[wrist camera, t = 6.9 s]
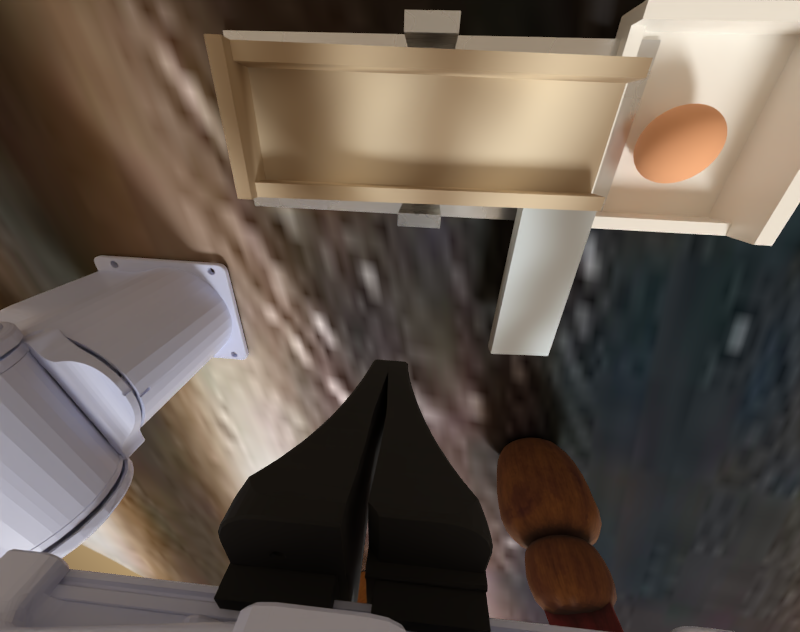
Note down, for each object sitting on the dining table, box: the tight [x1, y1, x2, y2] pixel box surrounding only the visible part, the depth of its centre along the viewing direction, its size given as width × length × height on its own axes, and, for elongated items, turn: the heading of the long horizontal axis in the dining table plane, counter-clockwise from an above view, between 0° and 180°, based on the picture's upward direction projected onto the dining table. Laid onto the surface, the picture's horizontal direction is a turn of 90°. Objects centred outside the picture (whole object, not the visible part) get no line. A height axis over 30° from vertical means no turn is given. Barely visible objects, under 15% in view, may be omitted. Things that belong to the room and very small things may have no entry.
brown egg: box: [633, 104, 727, 183], centre depth 14 cm, size 3×3×3 cm
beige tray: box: [204, 34, 653, 356], centre depth 15 cm, size 17×15×3 cm
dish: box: [591, 0, 800, 246], centre depth 14 cm, size 8×9×4 cm
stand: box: [223, 10, 661, 228], centre depth 15 cm, size 20×8×4 cm, turn 88°
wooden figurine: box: [497, 437, 623, 632], centre depth 21 cm, size 7×6×15 cm
